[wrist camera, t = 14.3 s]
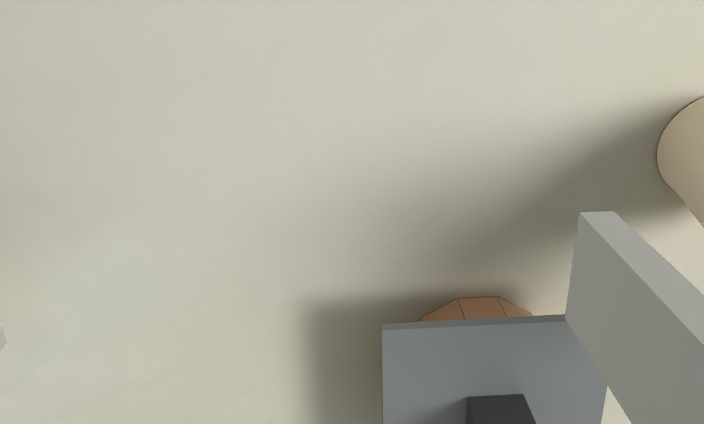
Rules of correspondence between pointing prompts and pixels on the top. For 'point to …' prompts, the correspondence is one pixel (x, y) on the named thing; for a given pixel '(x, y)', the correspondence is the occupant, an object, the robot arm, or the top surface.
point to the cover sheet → (488, 373)
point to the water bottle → (685, 157)
